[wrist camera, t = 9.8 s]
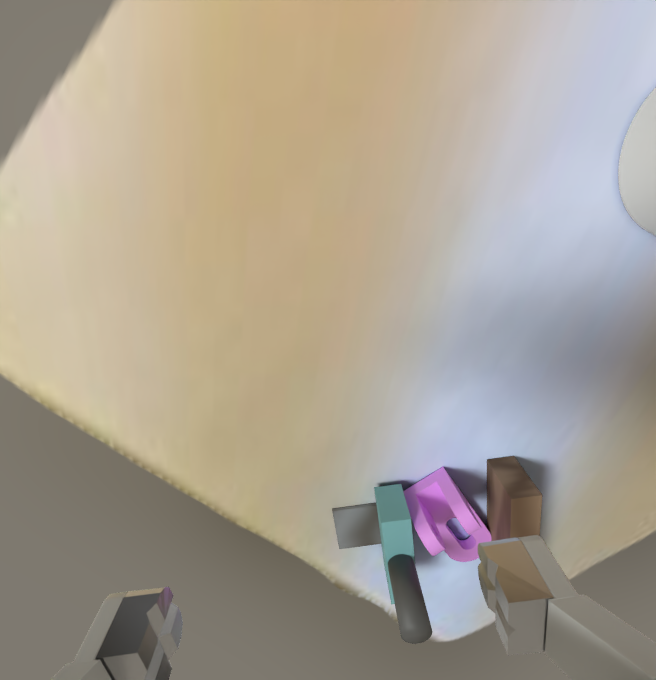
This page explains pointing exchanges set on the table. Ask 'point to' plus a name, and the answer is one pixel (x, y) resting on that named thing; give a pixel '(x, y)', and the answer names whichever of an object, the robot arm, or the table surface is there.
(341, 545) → the base
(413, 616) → the clamp jaw
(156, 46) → the table surface
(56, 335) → the table surface
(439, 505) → the bracket
